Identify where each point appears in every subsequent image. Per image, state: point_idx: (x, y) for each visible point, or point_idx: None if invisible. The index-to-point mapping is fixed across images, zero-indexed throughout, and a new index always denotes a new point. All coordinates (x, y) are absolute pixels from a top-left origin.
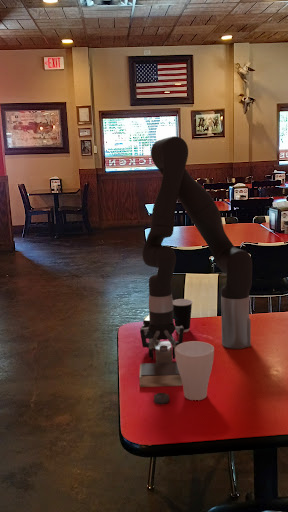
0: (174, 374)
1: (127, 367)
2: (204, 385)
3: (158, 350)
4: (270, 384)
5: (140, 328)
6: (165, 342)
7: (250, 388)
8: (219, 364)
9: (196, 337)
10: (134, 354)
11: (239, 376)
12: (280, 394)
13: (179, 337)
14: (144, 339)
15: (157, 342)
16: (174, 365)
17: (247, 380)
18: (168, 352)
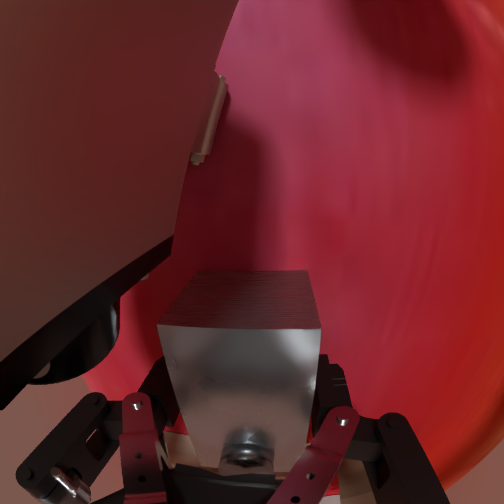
0: None
1: (97, 377)
2: None
3: (213, 455)
4: (493, 440)
5: (21, 478)
6: (264, 358)
7: (453, 464)
8: (482, 375)
9: (457, 14)
10: None
11: (474, 431)
12: (478, 462)
13: (377, 501)
14: (96, 468)
15: (182, 347)
16: None
17: (473, 441)
18: (278, 468)
